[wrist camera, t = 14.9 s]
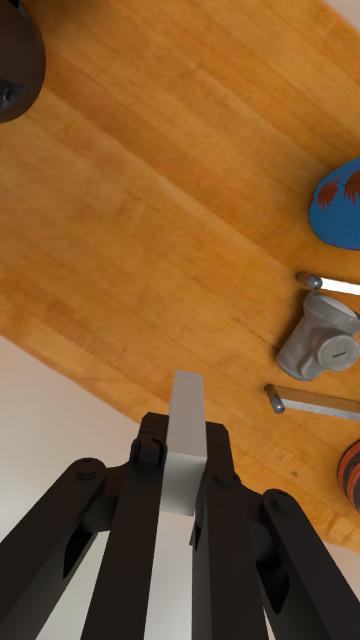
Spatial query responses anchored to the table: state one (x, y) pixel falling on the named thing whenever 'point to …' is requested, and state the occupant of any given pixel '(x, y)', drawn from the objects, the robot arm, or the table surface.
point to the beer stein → (351, 475)
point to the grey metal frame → (308, 400)
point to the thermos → (338, 207)
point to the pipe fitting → (321, 339)
